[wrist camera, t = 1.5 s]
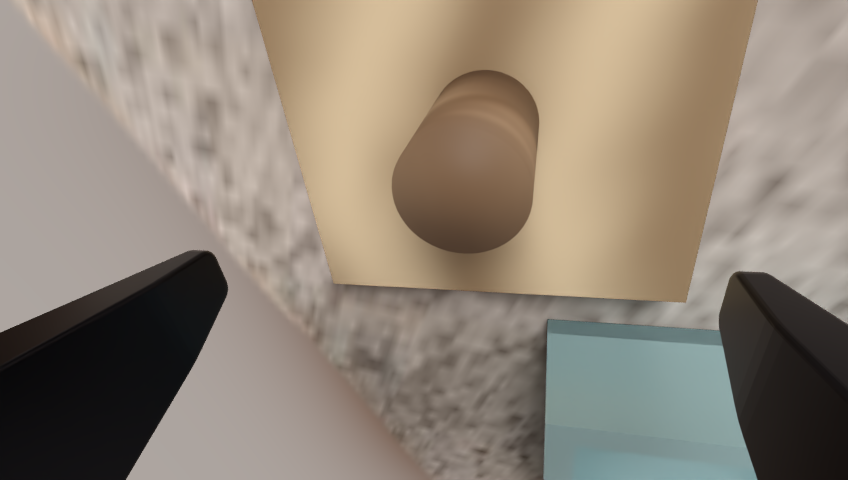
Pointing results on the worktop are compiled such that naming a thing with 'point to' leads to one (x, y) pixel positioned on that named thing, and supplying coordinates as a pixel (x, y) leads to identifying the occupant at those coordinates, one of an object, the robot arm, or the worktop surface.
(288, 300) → the worktop surface
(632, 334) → the light blue box
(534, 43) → the lid
